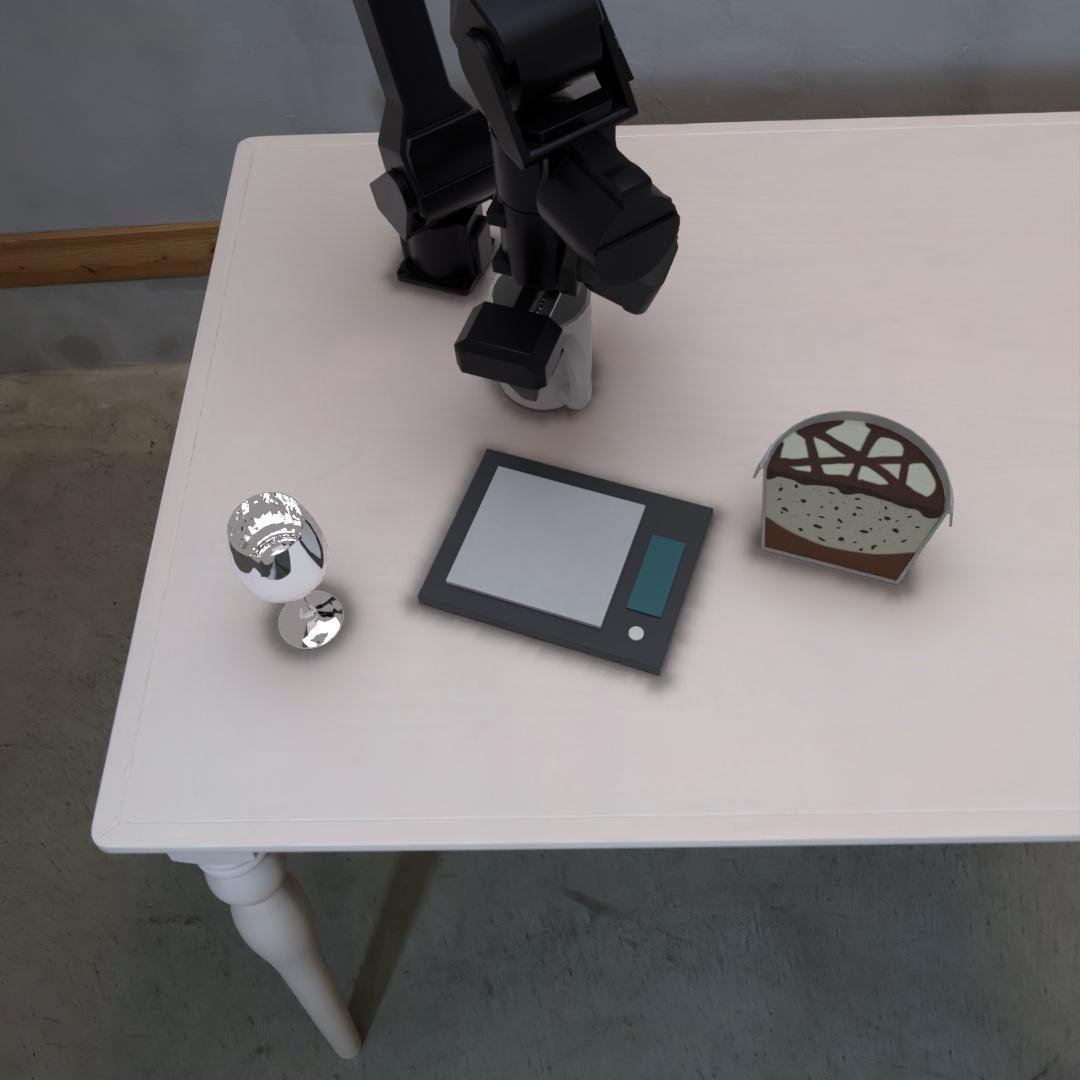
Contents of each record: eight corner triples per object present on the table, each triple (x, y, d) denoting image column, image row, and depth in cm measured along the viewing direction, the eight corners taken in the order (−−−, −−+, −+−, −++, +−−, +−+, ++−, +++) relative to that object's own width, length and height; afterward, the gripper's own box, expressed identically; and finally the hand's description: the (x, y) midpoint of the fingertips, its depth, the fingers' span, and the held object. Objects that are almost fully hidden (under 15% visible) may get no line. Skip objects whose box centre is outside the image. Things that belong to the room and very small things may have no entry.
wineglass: (286, 672, 74) (236, 582, 64) (257, 605, 77) (204, 508, 67) (366, 634, 76) (329, 540, 65) (334, 569, 78) (294, 469, 68)
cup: (562, 327, 89) (558, 243, 82) (628, 412, 84) (631, 331, 77) (482, 364, 88) (470, 281, 80) (545, 453, 83) (539, 374, 75)
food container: (935, 516, 78) (975, 429, 70) (920, 590, 75) (960, 508, 67) (760, 474, 81) (778, 384, 72) (739, 543, 78) (756, 458, 69)
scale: (419, 603, 77) (416, 593, 76) (488, 455, 83) (486, 444, 82) (659, 675, 73) (660, 666, 72) (712, 515, 79) (714, 504, 78)
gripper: (620, 320, 63) (617, 479, 76) (709, 111, 72) (693, 286, 85) (437, 277, 66) (465, 438, 79) (545, 80, 75) (554, 255, 88)
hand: (551, 351), depth 83 cm, fingers open, 9 cm apart
